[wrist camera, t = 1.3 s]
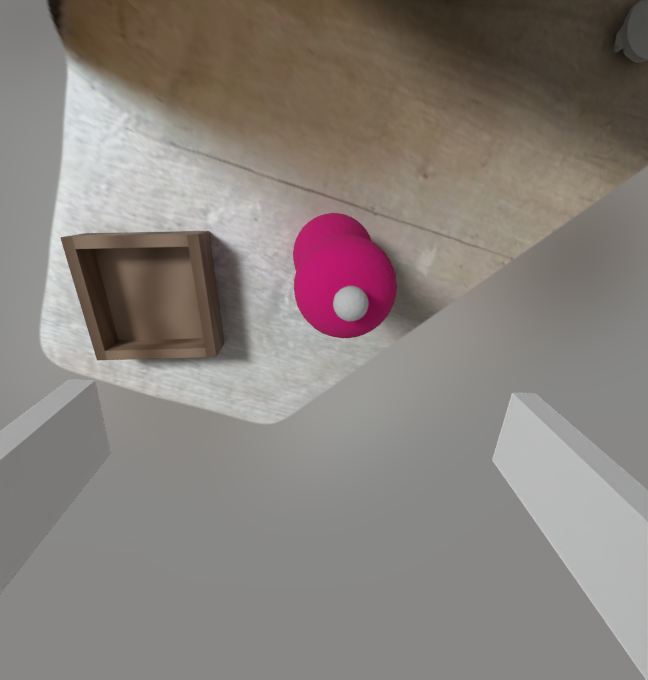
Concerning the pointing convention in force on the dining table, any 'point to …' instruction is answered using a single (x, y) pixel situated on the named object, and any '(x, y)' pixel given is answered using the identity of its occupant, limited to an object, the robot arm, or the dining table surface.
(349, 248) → the pepper mill
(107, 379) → the dining table surface
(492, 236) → the dining table surface
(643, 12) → the figurine
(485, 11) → the dining table surface
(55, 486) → the robot arm
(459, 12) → the dining table surface
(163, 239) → the holder tray
